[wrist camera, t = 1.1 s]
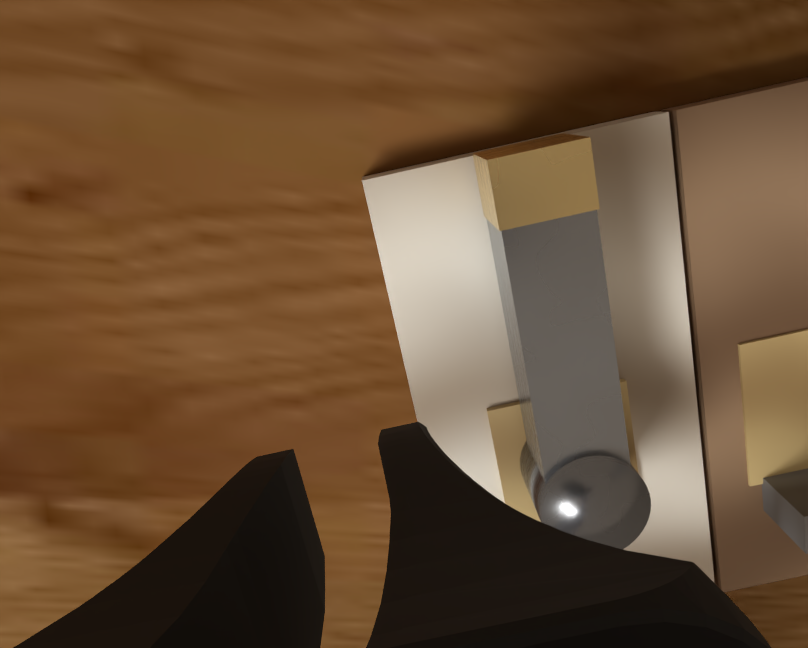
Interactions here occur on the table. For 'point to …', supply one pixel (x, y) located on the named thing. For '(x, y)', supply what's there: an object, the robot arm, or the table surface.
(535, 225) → the latch bar
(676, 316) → the door board
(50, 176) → the table surface
